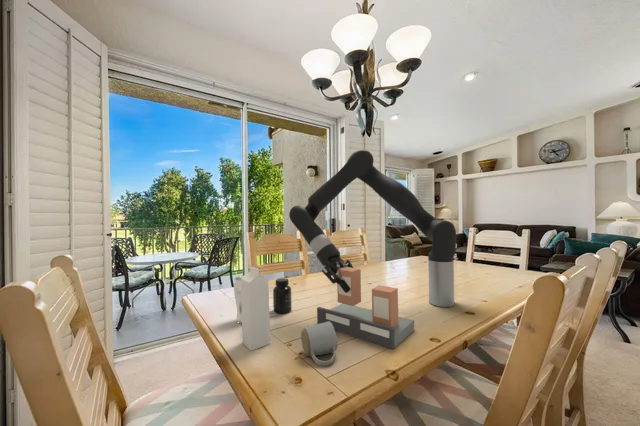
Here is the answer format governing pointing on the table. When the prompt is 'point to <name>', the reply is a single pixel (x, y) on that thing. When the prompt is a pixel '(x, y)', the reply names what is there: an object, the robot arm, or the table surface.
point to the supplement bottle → (282, 297)
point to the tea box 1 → (354, 282)
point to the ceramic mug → (319, 341)
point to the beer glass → (238, 298)
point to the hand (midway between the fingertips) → (353, 289)
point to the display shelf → (365, 325)
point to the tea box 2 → (385, 305)
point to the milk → (255, 310)
